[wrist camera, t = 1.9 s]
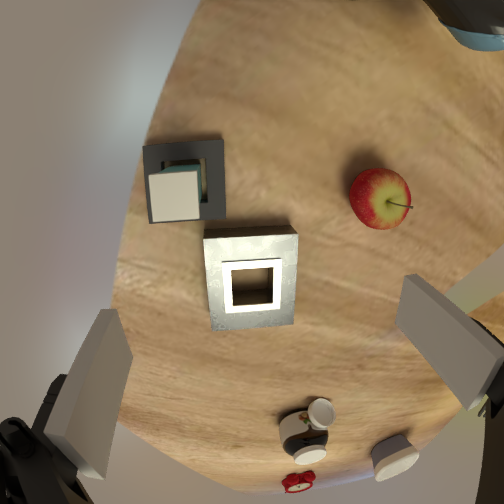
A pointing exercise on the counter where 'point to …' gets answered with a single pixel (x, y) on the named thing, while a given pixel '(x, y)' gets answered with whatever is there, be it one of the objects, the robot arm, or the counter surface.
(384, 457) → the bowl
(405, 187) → the apple
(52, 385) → the robot arm
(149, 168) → the dark grey square frame
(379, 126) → the counter surface
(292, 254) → the port
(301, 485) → the alarm clock
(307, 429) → the spread jar
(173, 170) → the plug
